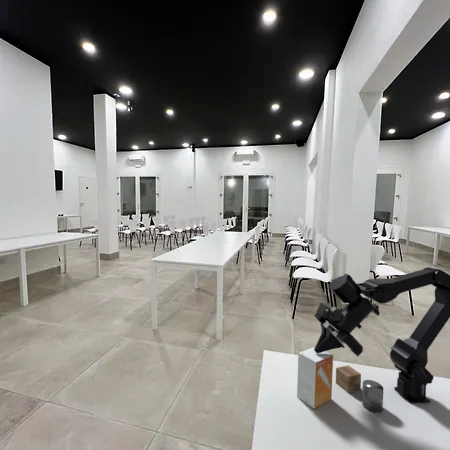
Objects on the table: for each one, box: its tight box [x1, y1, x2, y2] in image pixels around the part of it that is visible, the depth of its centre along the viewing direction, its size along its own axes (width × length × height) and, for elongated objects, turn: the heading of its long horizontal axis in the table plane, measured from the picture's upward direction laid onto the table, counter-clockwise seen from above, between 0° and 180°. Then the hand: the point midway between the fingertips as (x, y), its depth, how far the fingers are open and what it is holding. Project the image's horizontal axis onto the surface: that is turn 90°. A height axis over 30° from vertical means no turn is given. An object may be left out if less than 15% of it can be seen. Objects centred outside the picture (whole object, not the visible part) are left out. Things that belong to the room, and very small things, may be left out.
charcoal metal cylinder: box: [361, 379, 384, 414], centre depth 72 cm, size 5×5×6 cm
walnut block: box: [335, 364, 362, 394], centre depth 81 cm, size 5×5×5 cm
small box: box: [296, 346, 334, 409], centre depth 75 cm, size 8×6×13 cm
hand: (315, 351), depth 75 cm, fingers closed
